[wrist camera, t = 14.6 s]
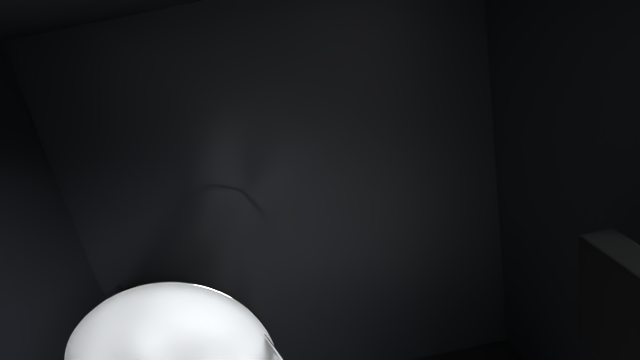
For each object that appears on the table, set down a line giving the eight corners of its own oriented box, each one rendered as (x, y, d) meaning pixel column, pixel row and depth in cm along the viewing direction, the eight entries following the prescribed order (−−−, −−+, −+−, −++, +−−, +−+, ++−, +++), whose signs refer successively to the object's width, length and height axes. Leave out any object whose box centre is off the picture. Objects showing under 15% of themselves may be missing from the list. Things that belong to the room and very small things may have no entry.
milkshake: (317, 245, 18) (355, 485, 9) (193, 293, 18) (99, 576, 9) (272, 141, 17) (256, 294, 7) (137, 195, 17) (-46, 410, 8)
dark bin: (-23, 20, 15) (-472, 15, 6) (495, -83, 15) (798, -237, 6) (143, 421, 21) (37, 722, 12) (518, 341, 21) (694, 578, 12)
